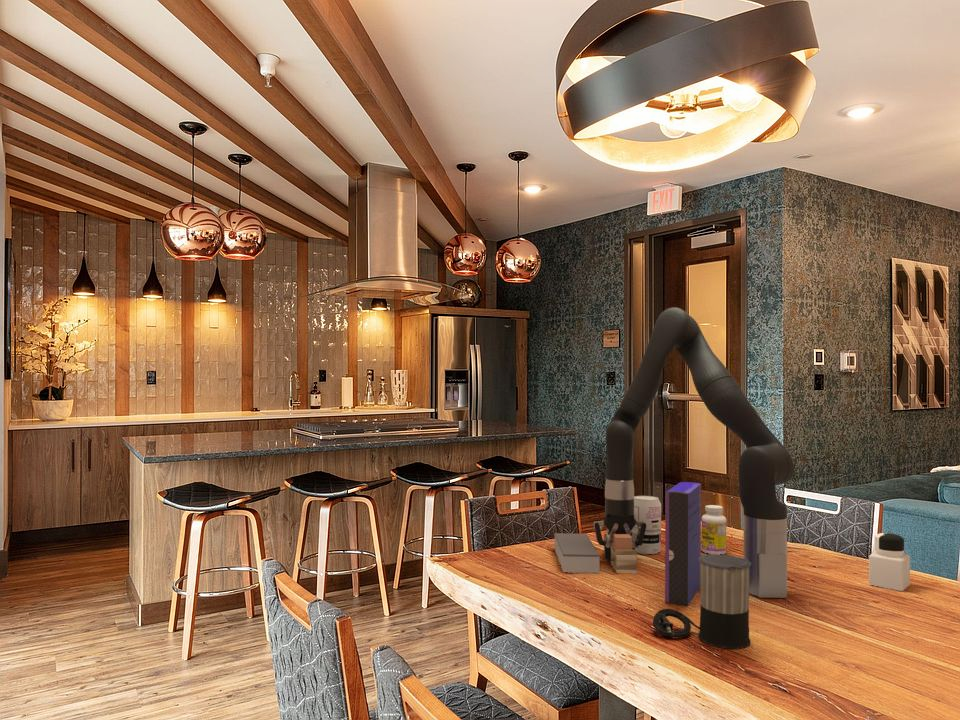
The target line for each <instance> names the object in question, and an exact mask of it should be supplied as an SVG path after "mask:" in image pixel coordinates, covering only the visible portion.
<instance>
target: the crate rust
mask: <svg viewBox="0 0 960 720" xmlns="http://www.w3.org/2000/svg"><path fill="white" fill-rule="evenodd" d="M616 550H632V537H631V536H630V535H629V534H614V551H615V552H616Z"/></svg>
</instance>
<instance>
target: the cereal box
mask: <svg viewBox="0 0 960 720" xmlns="http://www.w3.org/2000/svg"><path fill="white" fill-rule="evenodd" d="M664 497H665V500H664V501H665V502H664V503H665V505H664V506H665V509H664V511H665V512H664V513H665V514H664V516H665V520H664V521H665V522H664V523H665V526H664V528H665V529H664V532H665V534H664V537H665V538H664V543H665V544H664V545H665V546H664V551H665V554H664V555H665V556H664V560H665V561H664V563H665V564H664V565H665V567H664V584H665V585H664V594H665V595H664V603H665V604H668V603H669V604H668V605H674V604H675V605H676V606H681V605H682V606H683V607H689V605H690V604H691V602H692V601H691V600H693V599H694V597H695V596H696V594H697V593H698V591H699V589H700V588H699V587H700V561H699V557H701V556H702V549H701V538H702V483H700V482H698V483H697V482H691V481H680V482H678V483H677V484H675V485H674V486H672V487H671V488H670V489H668V490H666V491H665V496H664ZM694 595H695V596H694ZM682 606H681V607H682Z"/></svg>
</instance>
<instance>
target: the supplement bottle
mask: <svg viewBox="0 0 960 720" xmlns="http://www.w3.org/2000/svg"><path fill="white" fill-rule="evenodd" d="M704 509H705V514H703V515H701V552H702V553H704V554H707V553H708V554H707V555H710V554H711V555H712V554H722V555H723V554H725V555H726V553H727V518H726V516H724V515H723V512H724V507H723V506H722V505H717V504H715V505H714V504H709V505H708V504H706V505H705V506H704Z"/></svg>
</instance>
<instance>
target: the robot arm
mask: <svg viewBox="0 0 960 720" xmlns="http://www.w3.org/2000/svg"><path fill="white" fill-rule="evenodd" d="M704 335H705V334H703V331H702V330H701V328H700V326H699V324H698V322H697V320H696V319H694V318H693V317H692V316H691V315H690V314H689V313H688V312H686V311H685V310H683V309H682V308H679V307H669V308H666V309H665V310H663V311H661V313H660V314H659V315H658V317H657V319H656V321H655V323H654V326H653V329H652V331H651V335H650V338H649V341H648V343H647V347H646V348H645V351H644V354H643V357H642V358H641V359H642V360H641V362H640V365H639V366H638V369H637V371H636V373H635V376H634V377H633V379H632V381H631V382H630V385H629V387H628V388H627V390H626V392H625V393H624V396H623V398H622V400H621V401H620V405H619V407H618V409H617V410H616V412H615V413H614V415H613V416H612V418H611V420H610V421H609V423H608V425H607V427H606V429H605V442H606V443H605V445H606V447H605V448H606V462H605V463H606V464H605V485H604V517H603V519H602V520H600V521H596V520H595V521H593V523H592V524H593V528H594V533H595V537H596V541H597V543H598V545H599V546H603V554H604V559H605V560H606V561H607V562H608V563H610V562H611V548H610V545H611V542H612V540H613V538H614V534H629V535H630V536H631V537H632V534H631V530H632V529H633V528H634V526H635V525H637V529H638V534H637V538H636V540H635V541H634V540H633V537H632V550H635V547H636V546H641V545H642V543H643V539H644V534H645V530H646V524H645V523H644V522H643V521H641V522H639V521H636V520H635V517H634V496H635V485H634V466H633V465H634V464H633V453H634V452H633V449H634V435H635V432H636V430H637V427H638V425H639V424H640V421H642V418H643V417H644V416H645V415H646V413H647V412H648V411H649V409H650V406H651V405H652V403H653V401H654V399H655V397H656V395H657V393H658V391H659V388H660V384H661V379H662V375H663V369H664V366H665V363H666V360H667V358H668V356H669V354H670V353H671V351H672V349H674V351H675V352H676V353H677V354H678V355H679V356H680V358H681V359H682V360H683V362H684V363H685V364H686V366H687V368H688V369H689V372H690V375H691V379H692V383H693V384H694V388H695V391H696V392H697V394H698V396H699V397H700V399H701V401H702V402H703V404H704V405H705V407H706V408H707V411H709V413H710V414H711V415H712V416H713V417H714V418H715V419H716V420H717V421H718V422H720V423H721V424H722V425H723V426H725V427H726V428H728V429H729V430H730V431H731V432H732V433H734V434H735V435H736V436H737V437H738V438H739V439H740V440H741V441H742V443H743V444H744V445H745V446H746V449H744V450H743V452H742V453H741V455H740V458H739V461H738V488H739V499H740V500H739V501H740V503H741V505H742V509H743V559H746V560H748V561H749V562H750V563H751V565H750V566H749V595H753V596H757V598H768V599H771V598H773V599H775V598H779V599H780V598H781V599H787V598H788V596H787V595H788V508H787V506H786V503H784V502H781V501H780V500H779V499H778V498H777V490H776V486H778V485H784V484H786V483H788V482H790V481H791V479H793V476H794V473H795V463H794V460H793V458H792V456H791V454H790V452H789V451H788V449H787V448H786V447H785V446H784V445H783V444H782V442H781V441H780V440H779V439H778V438H777V436H776V435H775V434H774V433H773V432H772V430H770V428H769V427H768V426H767V425H766V423H765V422H764V420H763V419H762V418H761V416H760V414H758V411H756V409H755V408H754V406H753V405H752V403H751V402H750V400H749V399H748V398H747V396H746V395H745V393H744V392H743V390H742V388H741V387H740V384H738V382H737V381H736V379H735V378H734V376H733V375H732V374H731V372H730V371H729V370H728V369H727V367H726V366H725V364H723V362H722V361H721V359H719V357H717V355H716V354H715V353H714V352H713V349H711V347H710V345H709V343H708V341H707V339H706V337H705V336H704ZM603 526H605V527H606V530H607V529H608V533H607V532H606V533H607V536H606V539H605V541H604V538H603V535H602V530H603Z"/></svg>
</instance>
